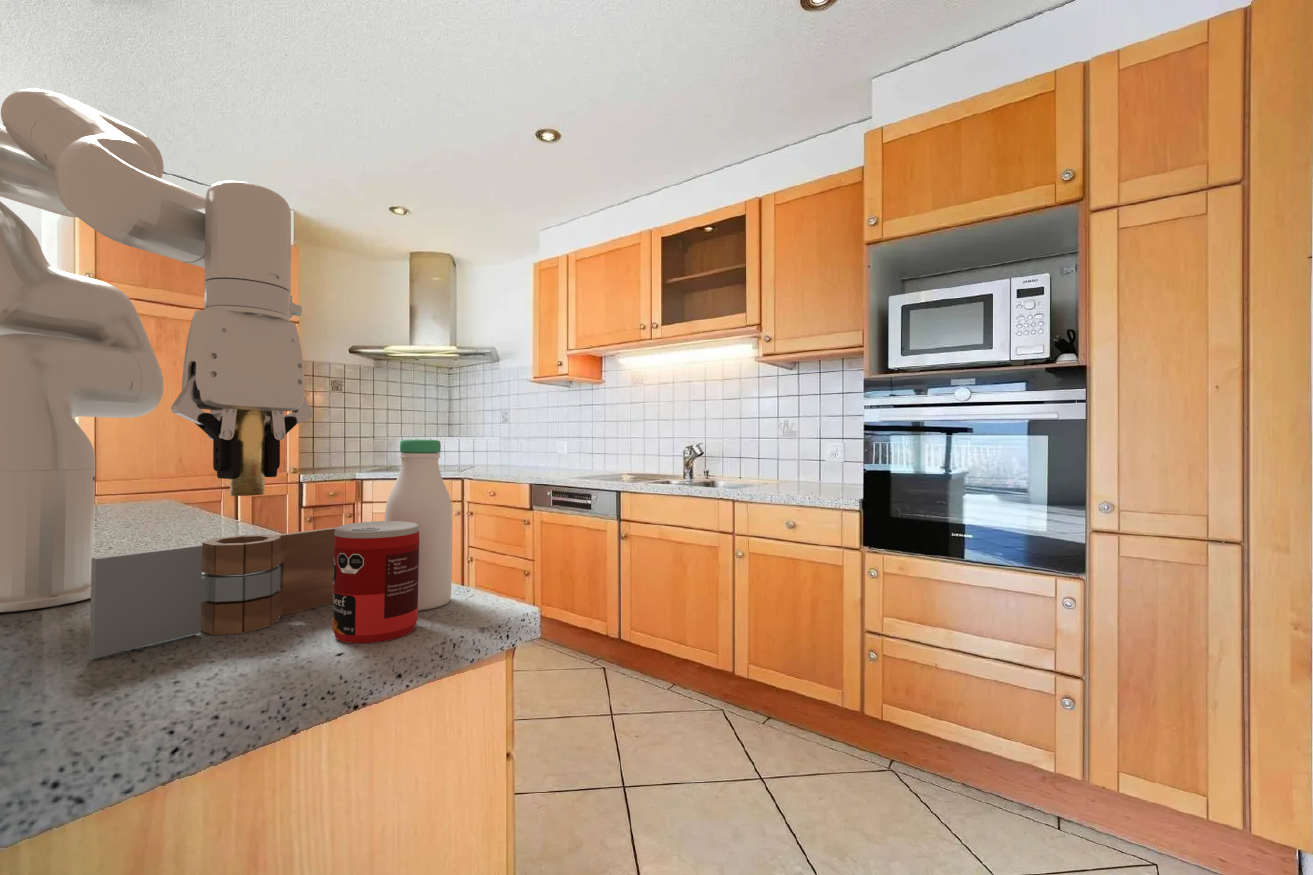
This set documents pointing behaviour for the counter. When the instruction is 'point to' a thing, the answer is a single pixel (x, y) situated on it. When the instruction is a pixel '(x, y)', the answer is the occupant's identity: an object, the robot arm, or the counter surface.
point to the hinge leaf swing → (160, 596)
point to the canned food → (375, 581)
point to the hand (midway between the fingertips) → (247, 475)
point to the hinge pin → (250, 453)
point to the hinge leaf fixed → (295, 553)
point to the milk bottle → (425, 517)
